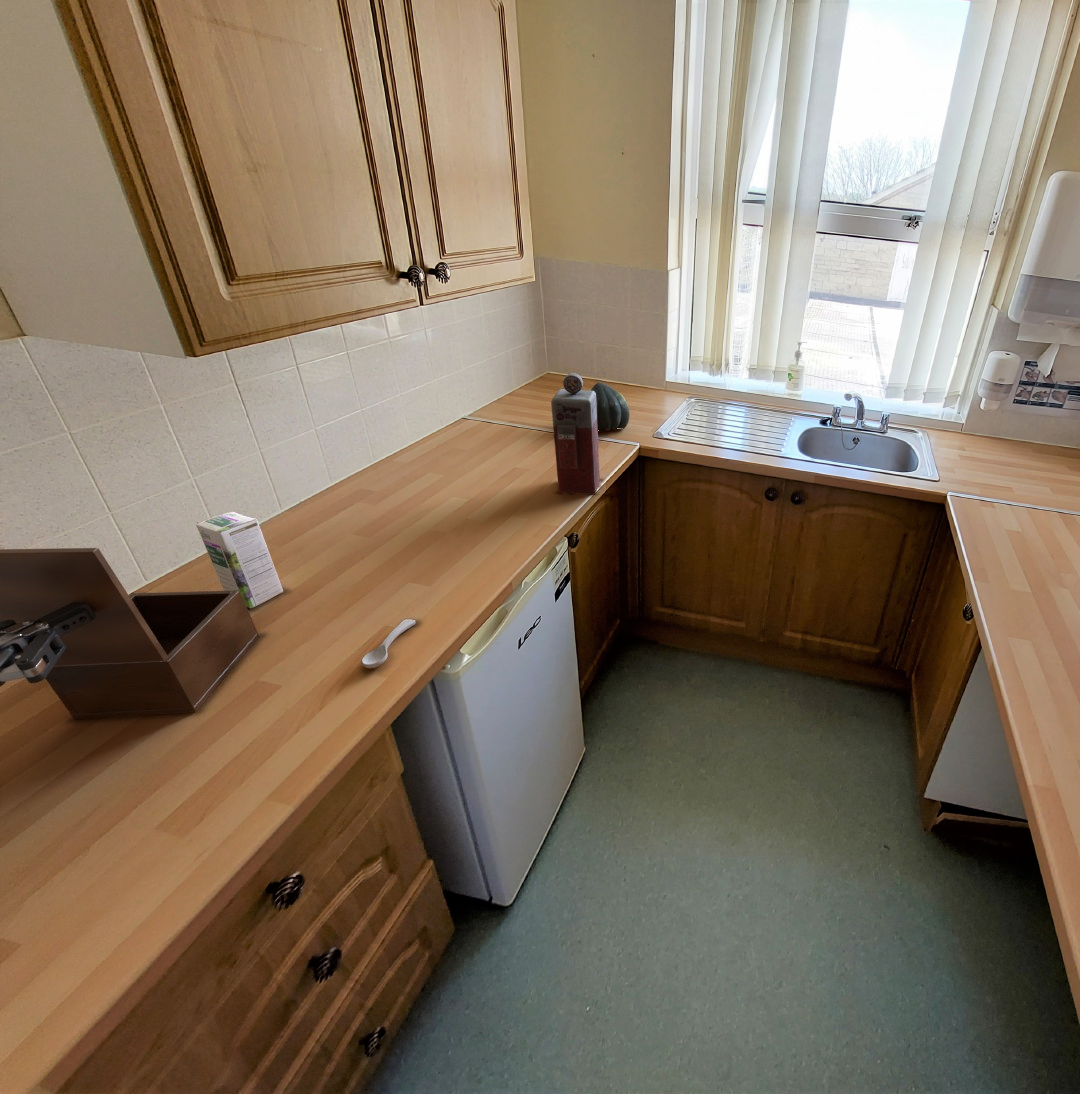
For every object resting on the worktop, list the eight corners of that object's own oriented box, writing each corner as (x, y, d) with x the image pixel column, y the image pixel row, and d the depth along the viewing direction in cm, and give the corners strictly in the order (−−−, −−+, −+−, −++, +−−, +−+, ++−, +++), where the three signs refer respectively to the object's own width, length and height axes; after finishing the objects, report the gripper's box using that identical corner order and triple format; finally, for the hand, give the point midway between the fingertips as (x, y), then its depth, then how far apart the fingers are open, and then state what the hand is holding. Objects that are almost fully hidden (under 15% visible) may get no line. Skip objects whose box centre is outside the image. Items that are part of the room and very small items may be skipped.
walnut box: (158, 640, 86) (131, 592, 82) (259, 636, 88) (239, 590, 84) (73, 719, 73) (36, 667, 68) (195, 712, 75) (167, 661, 71)
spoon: (358, 671, 83) (355, 660, 82) (403, 625, 94) (401, 615, 93) (378, 673, 83) (375, 662, 82) (421, 627, 94) (419, 617, 93)
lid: (-55, 549, 59) (-63, 554, 59) (98, 547, 62) (93, 551, 61) (37, 662, 68) (32, 667, 68) (168, 656, 71) (164, 661, 70)
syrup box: (226, 600, 95) (191, 524, 88) (262, 583, 100) (232, 509, 93) (250, 609, 94) (217, 532, 86) (286, 591, 98) (257, 517, 91)
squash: (631, 421, 173) (627, 376, 176) (580, 423, 170) (577, 377, 173) (630, 439, 187) (626, 396, 190) (584, 441, 184) (580, 398, 187)
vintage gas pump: (556, 496, 138) (546, 380, 124) (564, 478, 148) (556, 368, 133) (594, 498, 139) (588, 382, 125) (599, 479, 148) (595, 370, 134)
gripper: (-112, 707, 47) (121, 591, 62) (-234, 677, 49) (21, 571, 63) (-55, 767, 51) (151, 645, 65) (-171, 737, 52) (56, 624, 67)
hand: (86, 609), depth 64 cm, fingers closed
